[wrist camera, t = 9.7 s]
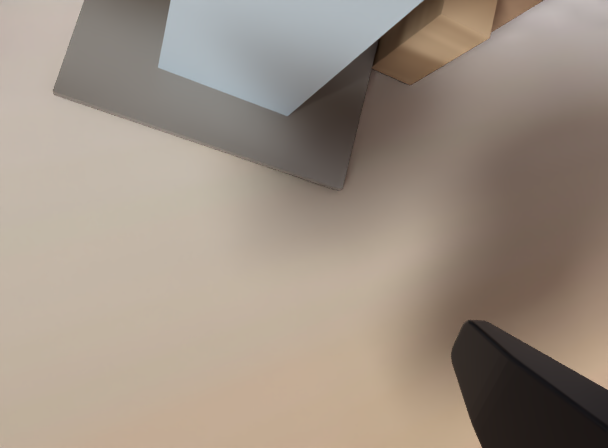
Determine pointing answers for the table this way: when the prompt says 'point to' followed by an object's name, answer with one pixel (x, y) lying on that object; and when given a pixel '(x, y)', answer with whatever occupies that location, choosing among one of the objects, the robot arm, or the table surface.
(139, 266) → the table surface
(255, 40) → the pale blue beveled prism
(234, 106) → the brown angular stand
